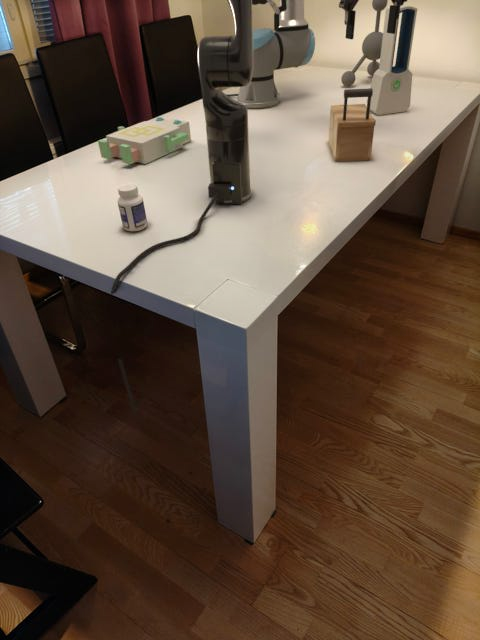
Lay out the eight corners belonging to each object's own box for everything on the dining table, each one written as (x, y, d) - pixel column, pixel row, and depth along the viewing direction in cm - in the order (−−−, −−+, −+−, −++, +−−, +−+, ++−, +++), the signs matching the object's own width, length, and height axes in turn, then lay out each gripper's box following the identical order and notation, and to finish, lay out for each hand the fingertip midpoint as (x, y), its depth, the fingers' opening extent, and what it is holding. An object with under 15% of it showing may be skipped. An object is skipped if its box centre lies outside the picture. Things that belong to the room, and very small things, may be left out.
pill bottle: (149, 220, 107) (142, 181, 102) (146, 231, 103) (138, 191, 98) (125, 221, 107) (116, 182, 102) (121, 232, 103) (112, 193, 98)
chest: (370, 160, 130) (374, 125, 124) (335, 161, 130) (337, 126, 125) (360, 141, 142) (364, 108, 136) (328, 142, 142) (330, 109, 137)
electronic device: (375, 115, 160) (388, 8, 142) (365, 110, 166) (376, 6, 148) (409, 111, 163) (426, 4, 144) (398, 105, 168) (413, 2, 150)
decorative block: (150, 112, 153) (199, 120, 143) (154, 133, 157) (201, 142, 147) (87, 135, 137) (137, 147, 127) (92, 158, 141) (141, 171, 131)
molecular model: (328, 81, 202) (333, -6, 184) (375, 74, 207) (385, -11, 188) (355, 93, 184) (363, -1, 166) (406, 86, 189) (420, -7, 170)
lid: (375, 125, 123) (379, 90, 118) (338, 127, 124) (340, 92, 119) (364, 108, 136) (367, 75, 131) (330, 109, 137) (332, 77, 132)
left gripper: (229, -42, 119) (232, 34, 128) (287, -46, 118) (286, 31, 128) (230, -43, 125) (233, 30, 134) (286, -46, 124) (285, 28, 134)
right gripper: (345, -60, 115) (338, 42, 128) (431, -65, 122) (416, 32, 135) (329, -59, 120) (324, 39, 133) (411, -64, 127) (399, 29, 141)
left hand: (259, 31), depth 131 cm, fingers open, 8 cm apart
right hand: (370, 36), depth 134 cm, fingers open, 13 cm apart
